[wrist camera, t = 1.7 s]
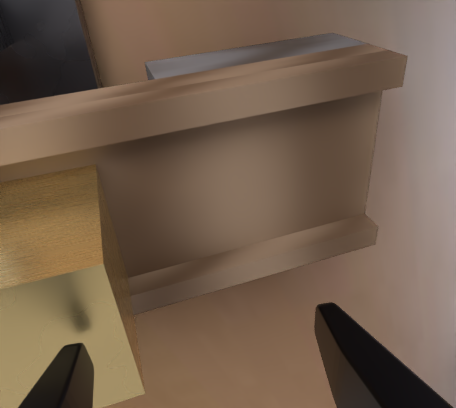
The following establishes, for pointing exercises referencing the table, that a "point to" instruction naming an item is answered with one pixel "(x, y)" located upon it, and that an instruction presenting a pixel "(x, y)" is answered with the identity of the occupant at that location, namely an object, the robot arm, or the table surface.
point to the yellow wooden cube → (63, 286)
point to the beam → (221, 159)
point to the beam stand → (44, 50)
